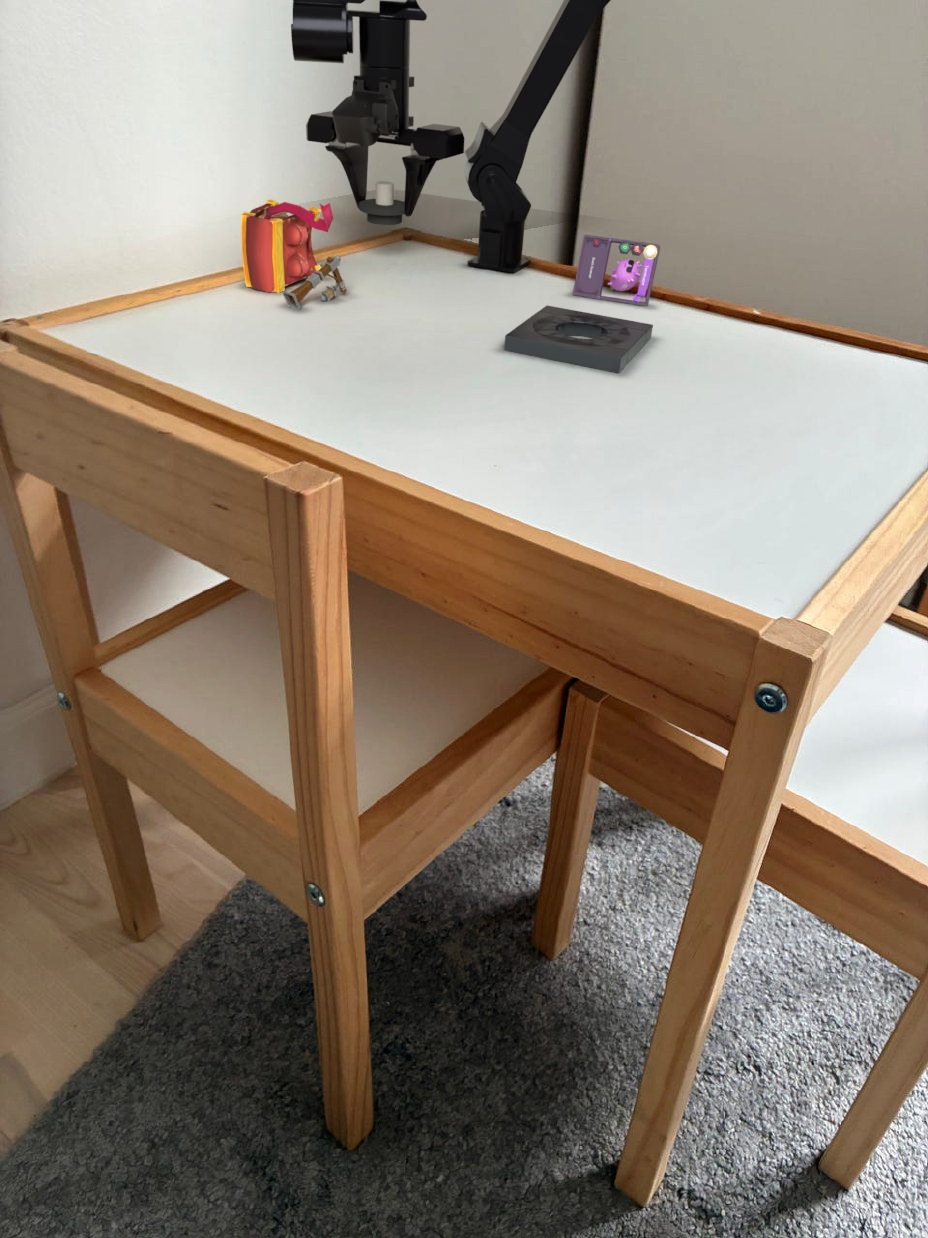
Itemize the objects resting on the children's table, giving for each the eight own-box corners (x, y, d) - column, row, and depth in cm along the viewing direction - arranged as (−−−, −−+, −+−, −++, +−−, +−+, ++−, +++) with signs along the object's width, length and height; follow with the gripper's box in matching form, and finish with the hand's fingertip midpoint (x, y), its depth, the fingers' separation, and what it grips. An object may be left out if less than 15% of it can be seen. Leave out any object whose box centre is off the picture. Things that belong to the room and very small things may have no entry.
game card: (582, 233, 104) (659, 243, 102) (590, 240, 109) (664, 250, 107) (571, 293, 106) (646, 305, 104) (579, 298, 111) (651, 309, 109)
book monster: (277, 266, 110) (359, 290, 106) (228, 285, 103) (313, 310, 99) (273, 172, 103) (360, 193, 99) (220, 185, 97) (311, 208, 93)
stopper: (374, 213, 116) (374, 175, 113) (418, 220, 114) (419, 182, 111) (349, 221, 111) (348, 183, 109) (395, 229, 109) (395, 190, 107)
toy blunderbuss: (356, 287, 102) (342, 251, 98) (307, 329, 99) (291, 294, 95) (345, 283, 103) (331, 248, 99) (296, 325, 100) (281, 290, 96)
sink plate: (545, 318, 99) (546, 304, 98) (650, 338, 95) (653, 324, 94) (504, 350, 90) (505, 335, 89) (618, 373, 86) (621, 357, 85)
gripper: (275, 61, 100) (284, 212, 109) (426, 77, 94) (422, 235, 103) (328, 57, 108) (332, 198, 117) (469, 71, 102) (462, 218, 111)
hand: (384, 212), depth 112 cm, fingers closed on stopper, 6 cm apart
